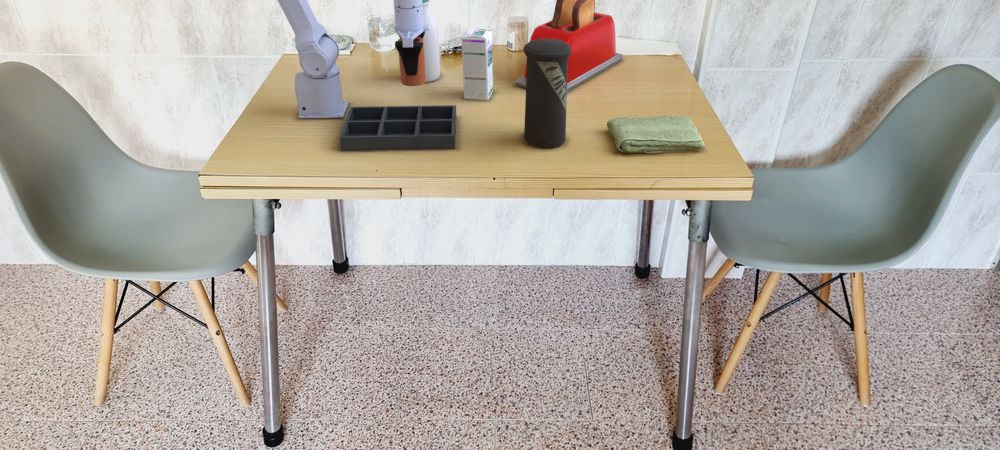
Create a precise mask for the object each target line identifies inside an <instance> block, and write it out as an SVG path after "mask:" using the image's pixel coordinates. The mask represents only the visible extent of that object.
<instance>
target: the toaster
mask: <svg viewBox="0 0 1000 450" xmlns="http://www.w3.org/2000/svg"><path fill="white" fill-rule="evenodd" d="M595 11H596V1H595V0H556V1H555V6H554V12H553V16H552V19H551V20H549V21H547V22H545V23H543V24H540V25H538V26H536V27H535V28H534V30H533V32H532V34H531V36H530V39H529V42H530V41H533V40H537V39H558V40H562V41H564V42H566V43H567V44H568V45H570V47H571V49H572V52H571V54H570V56H569V58H568V73H567V93H568V92H570V91H572V90H573V89H576V88H577V87H579V86H580V85H582V84H584V83H585V82H588V81H589V80H591V79H592V78H594V77H596V76H598V75H600V74H601V73H603V72H604V71H606V70H608V69H610V68H612V67H613V66H615V65H617V64H619V62H621V61H622V60H623V56H624V54H623V53H618V52H617V45H616V43H617V41H616V27H615V21H614V18H613V17H612V15H610V14H606V13H600V12H595ZM524 67H525V68H524V69H525V70H524V75H523V76H521V77H519V78H517V79H516V80H515V85H516V87H519V88H522V89H526V71H527V60H526V62H525V66H524Z"/></svg>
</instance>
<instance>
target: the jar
mask: <svg viewBox="0 0 1000 450" xmlns="http://www.w3.org/2000/svg"><path fill="white" fill-rule="evenodd" d="M413 40H414V41H415V43H422V42H423V47H422V49H421V51H420V54H419V60H418V70H417V75H415V76H407V75H406V72H405V69H404V65H403V62H402V59H401V56H400V54H399V53H398V63H399V76H400V83H401V85H402V86H406V87H418V86H423V85H424V84H425V83H427V82H426V77H425V59H424V41H423V39H422V38H420V37H416V38H415V39H413ZM397 41H402V38H399V39H398V40H397Z"/></svg>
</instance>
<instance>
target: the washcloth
mask: <svg viewBox="0 0 1000 450" xmlns="http://www.w3.org/2000/svg"><path fill="white" fill-rule="evenodd" d="M606 127H607V129H608V131H609V132H610V135H611V137H612V138H614V143H615V146H616V149H617V150H618V151H620V152H622V153H625V154H629V153H634V154H636V153H640V154H641V153H646V154H648V155H649V154H659V153H660V154H661V153H679V152H689V151H698V150H699V151H701V150H702V149H705V148H706V143H705V142H704V140H703V138H702V136H701V134H700V132H699V131H698V128H697V126H696V125H694V123H693V121H692V118H691V117H689V116H683V115H673V114H670V115H669V114H668V115H667V114H665V115H652V116H651V115H649V116H633V115H632V116H617V117H614V118H610V119H609V120H607V122H606Z"/></svg>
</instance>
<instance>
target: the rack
mask: <svg viewBox="0 0 1000 450" xmlns="http://www.w3.org/2000/svg"><path fill="white" fill-rule="evenodd" d="M338 139H339V145H340V151H341V152H361V151H362V152H364V151H367V152H368V151H416V150H419V151H421V150H456V141H457V105H455V104H454V105H452V104H450V105H449V104H448V105H447V104H446V105H445V104H444V105H389V106H388V105H381V106H380V105H379V106H376V105H375V106H349V110H348V111H347V114H346V117H345V120H344V123H343V126H342V128H341V132H340V134H339V137H338Z"/></svg>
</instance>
